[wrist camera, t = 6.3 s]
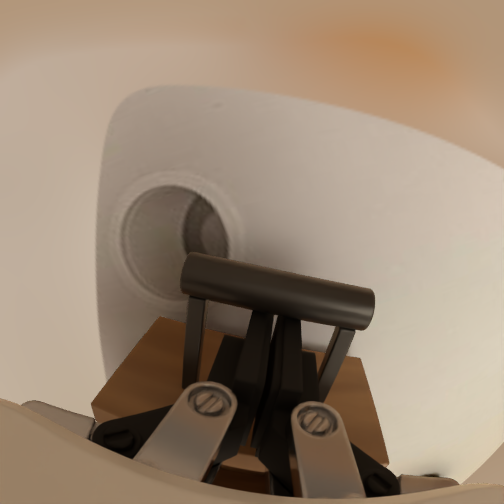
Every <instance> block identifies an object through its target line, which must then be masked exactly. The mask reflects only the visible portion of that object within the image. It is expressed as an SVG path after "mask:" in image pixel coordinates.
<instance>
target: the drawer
mask: <svg viewBox="0 0 504 504" xmlns="http://www.w3.org/2000/svg"><path fill="white" fill-rule="evenodd" d="M180 288H181V292H182V293H183V294H186V295H190V296H189V298H188V307H187V317H186V323H183V322H179V321H176V320H172V319H169V318H165V317H162V316H159V317H158V319H157V320H156V321H155V322H154V323H153V325H152V326H151V327H150V328H149V330H148V331H147V332H146V333H145V335H144V336H143V337H142V338H141V340H140V341H139V342H138V343H137V345H136V346H135V347H134V348H133V350H132V351H131V352H130V354H129V355H128V356H127V357H126V359H125V360H124V361H123V362H122V364H121V365H120V366H119V368H118V369H117V370H116V371H115V373H114V374H113V375H112V376H111V378H110V379H109V380H108V382H107V383H106V384H105V386H104V387H103V388H102V390H101V391H100V392H99V393H98V395H97V396H96V397H95V399H94V400H93V402H92V403H91V406H92V409H93V413H94V416H95V420H96V421H97V422H99V423H103V422H106V421H109V420H113V419H118V418H122V417H126V416H131V415H135V414H139V413H143V412H147V411H151V410H154V409H158V408H162V407H165V406H169V405H172V404H175V402H176V401H177V399H178V398H179V397H180V395H181V394H182V393H183V391H184V390H185V389H186V388H187V387H188V386H189V385H191V384H194V383H196V382H201V381H207V379H208V376H209V373H210V371H211V368H212V365H213V363H214V360H215V358H216V355H217V352H218V350H219V347H220V345H221V342H222V339H223V337H224V335H225V334H226V335H230V336H234V337H239V338H243V339H245V338H244V337H240V336H235V335H231V334H227V333H222V332H218V331H214V330H210V329H206V328H205V326H206V318H207V311H208V303H209V300H211V301H215V302H219V303H223V304H228V305H232V306H236V307H241V308H245V309H250V310H254V311H259V312H264V313H269V314H273V315H278V316H283V317H288V318H293V319H298V320H304V321H309V322H314V323H320V324H325V325H331V326H336V327H335V329H334V332H333V335H332V337H331V340H330V343H329V345H328V348H327V351H326V353H323V352H317V351H311V350H305V349H302V350H303V351H308V352H314V353H315V355H316V363H317V374H318V385H319V397H320V402H322V403H325V404H327V405H329V406H331V407H332V408H334V409H335V410H336V411H337V412H338V413H339V414H340V416H341V418H342V420H343V423H344V426H345V430H346V433H347V436H348V439H349V441H350V442H352V443H353V444H354V445H355V446H357V447H358V448H359V449H361V450H362V451H363V452H365V453H366V454H368V455H369V456H370V457H372V458H373V459H374V460H376V461H377V462H379V463H380V464H381V465H383V466H384V467H387V466H388V465H389V459H388V455H387V451H386V446H385V442H384V438H383V435H382V431H381V427H380V423H379V419H378V416H377V412H376V408H375V405H374V401H373V398H372V394H371V391H370V388H369V384H368V381H367V378H366V374H365V371H364V368H363V365H362V362H361V359H360V358H357V357H350V356H346V354H347V352H348V349H349V347H350V344H351V342H352V340H353V337H354V335H355V330H361V331H362V330H365V329H366V328H367V327H368V326H369V324H370V322H371V320H372V317H373V313H374V308H375V295H374V292H373V291H372V290H371V289H369V288H364V287H359V286H354V285H349V284H344V283H339V282H334V281H329V280H324V279H320V278H315V277H310V276H305V275H300V274H296V273H291V272H286V271H281V270H277V269H272V268H267V267H262V266H258V265H253V264H248V263H244V262H239V261H234V260H230V259H225V258H221V257H216V256H211V255H207V254H202V253H198V252H190V253H189V254H188V256H187V258H186V260H185V262H184V265H183V268H182V273H181V279H180ZM254 421H255V418H254ZM254 421H253V424H252V427H251V430H250V433H249V436H248V439H247V442H246V445H245V446H241V445H240V447H239V450H238V453H237V455H236V456H234V457H232V458H230V459H227V460H225V461H223V464H222V467H221V469H220V471H219V473H218V475H217V477H216V479H215V481H214V484H213V485H215V486H220V487H225V488H230V489H235V490H240V491H246V492H252V493H259V494H266V489H265V466H264V465H263V464H262V463H261V462H260V461H259V459H258V457H255V452H256V448H251V447H250V445H251V439H252V433H253V427H254Z"/></svg>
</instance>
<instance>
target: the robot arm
mask: <svg viewBox="0 0 504 504" xmlns="http://www.w3.org/2000/svg"><path fill="white" fill-rule="evenodd" d="M273 317H274V315H273V314H269V313H264V312H259V311H254V310H253V311H252V315H251V319H250V322H249V326H248V330H247V334H246V338H245V339H243V338H239V337H234V336H230V335H226V334H225V335H224V337H223V339H222V342H221V345H220V347H219V350H218V352H217V355H216V358H215V360H214V363H213V365H212V368H211V371H210V373H209V376H208V379H207V381H201V382H196V383H194V384H191V385H189V386H188V387H187V388H186V389H185V390H184V391H183V393H182V394H181V395H180V397H179V398H178V399H177V401H176V402H175V404H172V405H169V406H165V407H162V408H158V409H154V410H151V411H147V412H143V413H139V414H135V415H131V416H126V417H122V418H118V419H113V420H109V421H106V422H103V423H99V422H95V419H94V418H92V417H88V416H84V415H81V414H77V413H74V412H71V411H67V410H64V409H61V408H58V407H55V406H52V405H49V404H46V403H44V402H40V401H36V400H33V401H27V402H25V403H23V404H22V405H18V404H16V403H13V402H10V401H7V400H4V399H0V504H504V486H502V485H496V484H488V483H481V484H479V483H477V484H464V485H459V483H458V482H457V481H455V480H454V479H450V478H439V477H423V476H412V475H403V474H401V475H400V476H399V477H396V476H395V475H394V474H393V473H392V472H391V471H390V470H388V469H387V468H386V467H384V466H383V465H381V464H380V463H379V462H377V461H376V460H374V459H373V458H372V457H370V456H369V455H368V454H366V453H365V452H363V451H362V450H361V449H359V448H358V447H357V446H355V445H354V444H353V443H352V442H350V441H349V439H348V436H347V433H346V430H345V426H344V423H343V420H342V418H341V416H340V414H339V413H338V412H337V411H336V410H335V409H334V408H332V407H331V406H329V405H327V404H325V403H322V402H320V397H319V385H318V374H317V363H316V355H315V353H314V352H308V351H303V350H302V340H301V320H298V319H293V318H288V317H283V316H278V317H277V321H276V325H275V328H274V332H273V336H272V340H271V334H272V325H273ZM270 342H271V343H270ZM254 418H255V421H254ZM253 421H254V427H253V433H252V439H251V445H250V447H251V448H256V452H255V457H258V459H259V461H260V462H261V463H262V464H263V465H264V466H265V489H266V494H259V493H252V492H246V491H240V490H235V489H230V488H225V487H220V486H215V485H213V484H214V481H215V479H216V477H217V475H218V473H219V471H220V469H221V467H222V464H223V461H225V460H227V459H230V458H232V457H234V456H236V455H237V453H238V450H239V447H240V445H241V446H245V445H246V442H247V439H248V436H249V433H250V430H251V427H252V424H253Z"/></svg>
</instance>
